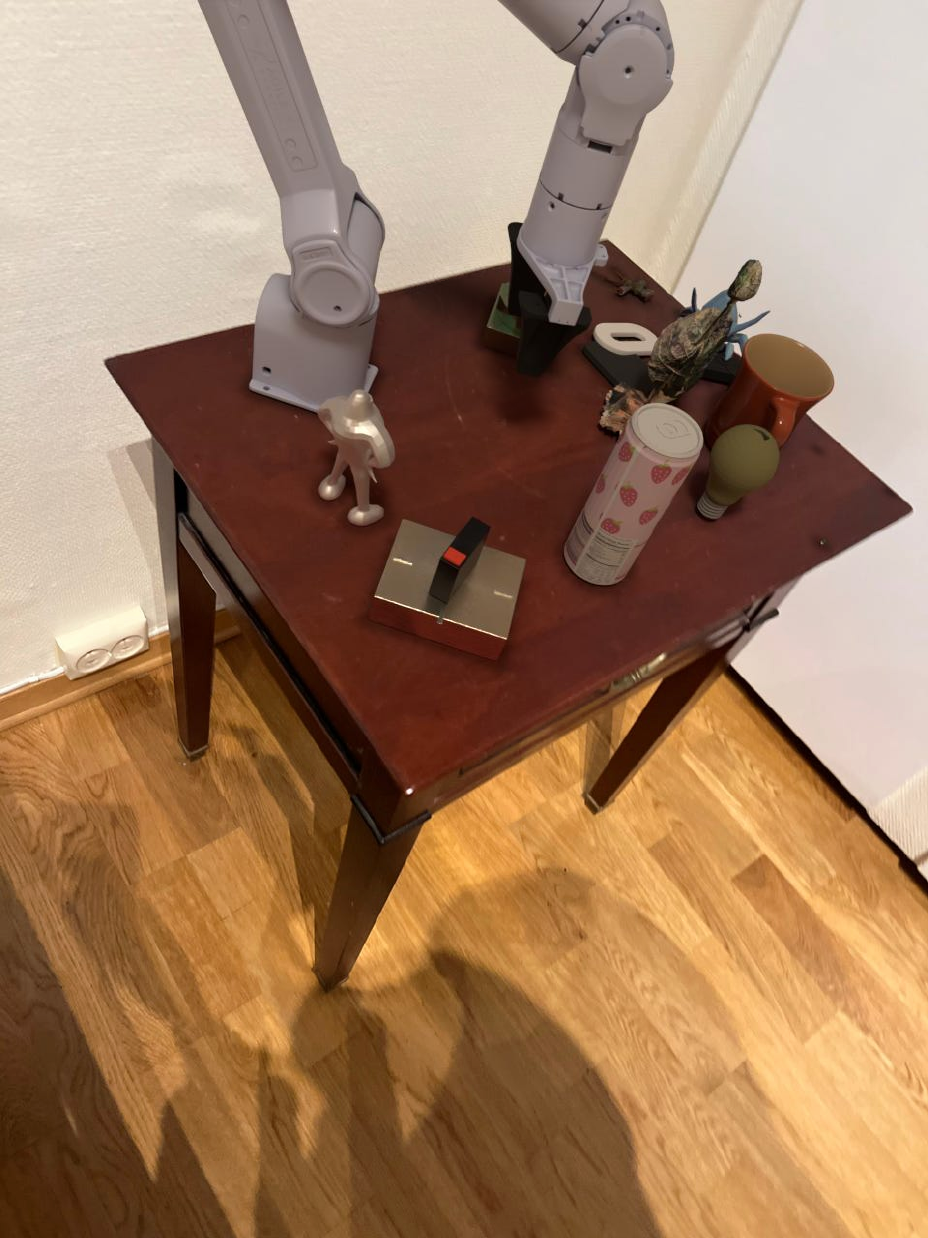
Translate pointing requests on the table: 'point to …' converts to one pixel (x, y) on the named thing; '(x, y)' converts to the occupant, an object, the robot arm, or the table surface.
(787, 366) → the mug
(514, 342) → the button block
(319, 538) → the table surface
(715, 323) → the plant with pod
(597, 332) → the chain link
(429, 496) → the table surface
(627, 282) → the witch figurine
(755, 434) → the light bulb
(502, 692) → the table surface
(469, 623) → the panel
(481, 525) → the knob
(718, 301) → the figurine
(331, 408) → the figurine
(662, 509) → the beverage can
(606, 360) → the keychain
